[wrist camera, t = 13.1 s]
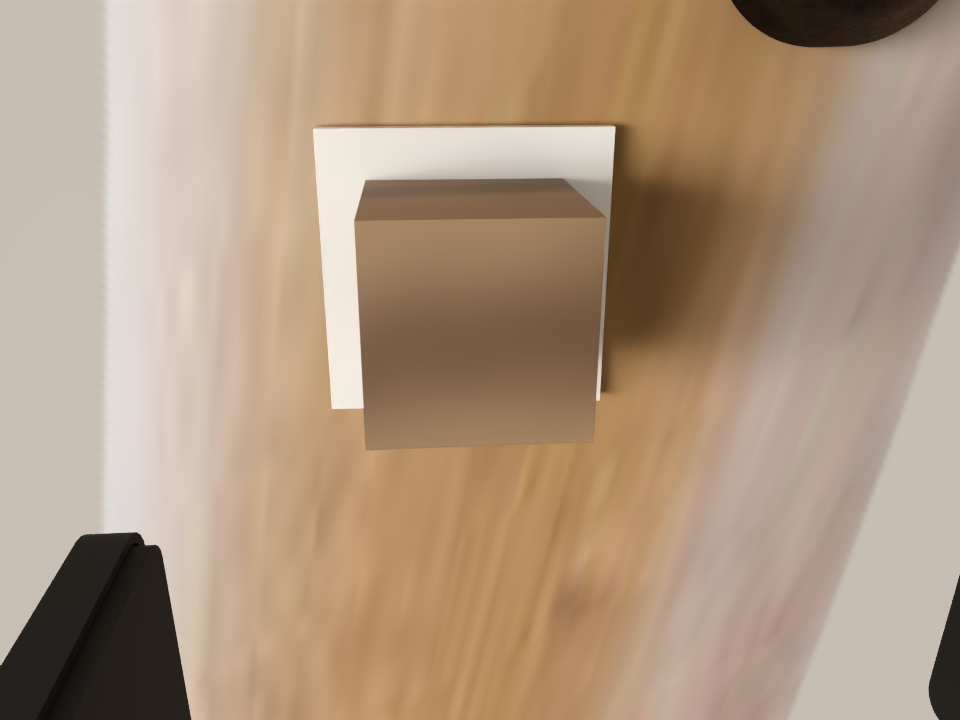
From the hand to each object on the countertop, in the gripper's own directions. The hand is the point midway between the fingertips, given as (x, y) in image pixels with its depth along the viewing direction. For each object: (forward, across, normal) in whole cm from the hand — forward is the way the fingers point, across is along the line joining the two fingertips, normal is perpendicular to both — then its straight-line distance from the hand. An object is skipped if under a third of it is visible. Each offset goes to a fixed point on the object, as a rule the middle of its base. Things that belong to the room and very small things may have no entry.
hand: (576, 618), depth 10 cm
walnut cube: (+18, 0, +2) cm, 18 cm away
